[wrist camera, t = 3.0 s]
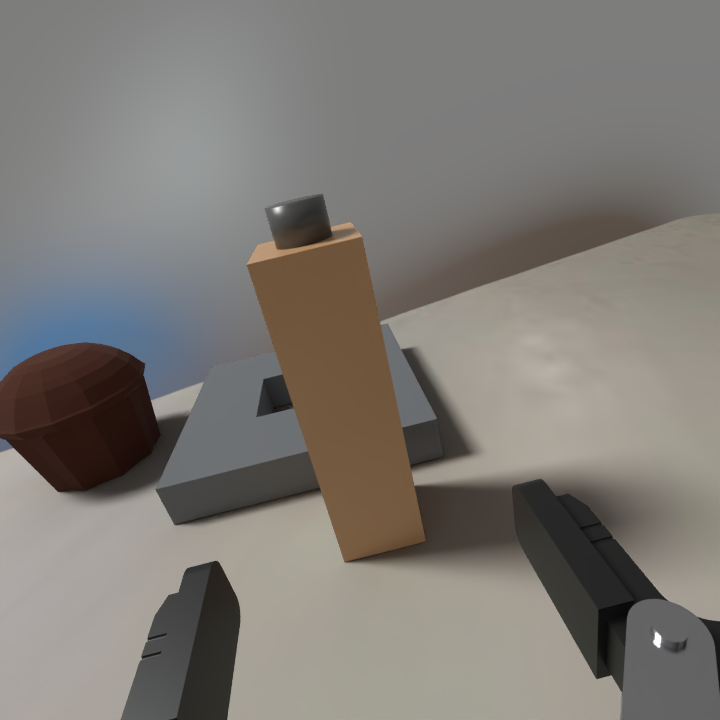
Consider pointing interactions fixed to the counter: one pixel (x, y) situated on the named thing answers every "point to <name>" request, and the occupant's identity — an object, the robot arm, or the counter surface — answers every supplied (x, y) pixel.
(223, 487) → the socket
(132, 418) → the muffin
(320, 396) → the plug
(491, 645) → the counter surface
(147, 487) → the counter surface
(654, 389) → the counter surface
